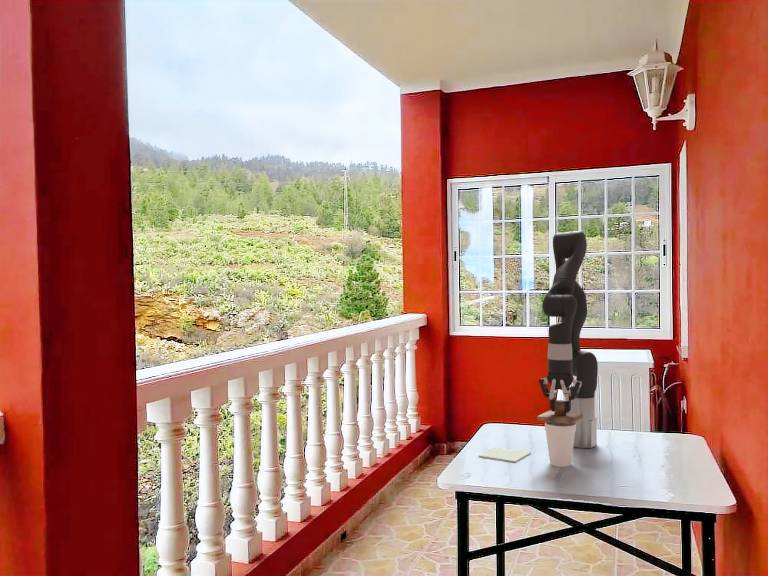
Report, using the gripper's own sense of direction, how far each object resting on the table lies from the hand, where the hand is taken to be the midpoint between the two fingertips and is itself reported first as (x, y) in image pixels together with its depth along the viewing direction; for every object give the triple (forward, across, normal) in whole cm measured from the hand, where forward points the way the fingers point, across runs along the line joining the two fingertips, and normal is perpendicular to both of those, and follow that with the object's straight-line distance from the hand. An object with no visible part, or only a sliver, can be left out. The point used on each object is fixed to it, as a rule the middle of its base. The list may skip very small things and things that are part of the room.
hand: (560, 411), depth 210 cm
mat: (+17, +19, 0) cm, 25 cm away
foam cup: (+17, 0, 0) cm, 17 cm away
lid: (+2, 0, 0) cm, 2 cm away
